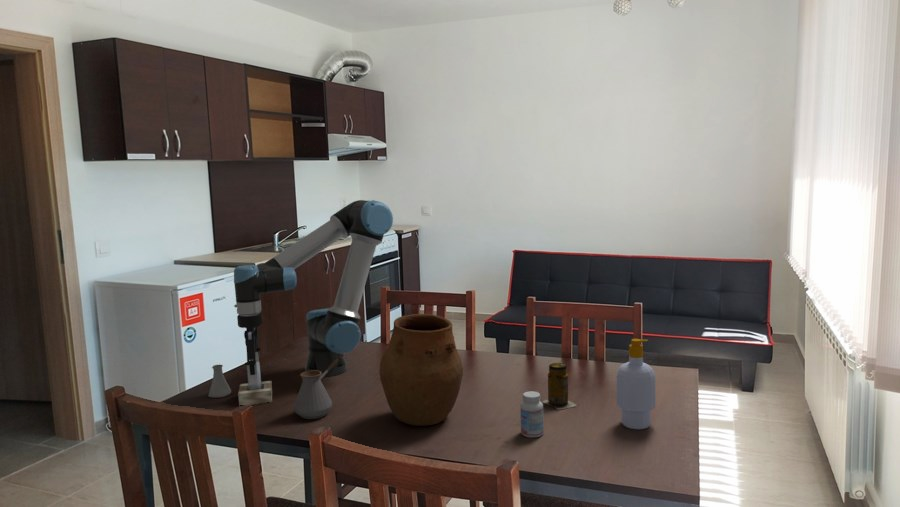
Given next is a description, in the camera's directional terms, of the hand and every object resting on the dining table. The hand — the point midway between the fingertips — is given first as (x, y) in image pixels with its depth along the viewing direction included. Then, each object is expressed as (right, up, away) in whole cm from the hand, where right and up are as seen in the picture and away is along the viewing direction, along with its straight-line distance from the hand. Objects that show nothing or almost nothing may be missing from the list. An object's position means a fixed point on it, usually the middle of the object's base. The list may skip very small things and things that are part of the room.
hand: (254, 377), depth 210 cm
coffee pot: (+25, -8, -10) cm, 28 cm away
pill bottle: (+86, -9, -35) cm, 93 cm away
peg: (0, -7, +1) cm, 7 cm away
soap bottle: (+115, -7, -32) cm, 119 cm away
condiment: (+97, -6, -14) cm, 98 cm away
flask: (-14, -7, +7) cm, 17 cm away
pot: (+56, -8, -22) cm, 60 cm away
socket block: (0, -7, +1) cm, 7 cm away
